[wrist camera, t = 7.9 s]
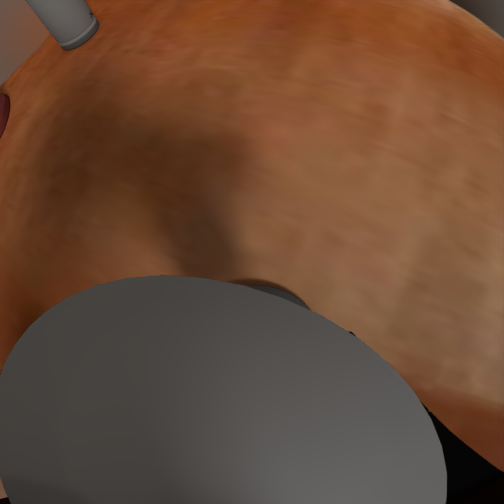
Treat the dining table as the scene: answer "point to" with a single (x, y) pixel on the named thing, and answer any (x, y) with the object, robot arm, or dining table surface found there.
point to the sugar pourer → (207, 404)
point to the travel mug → (66, 20)
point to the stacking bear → (3, 111)
